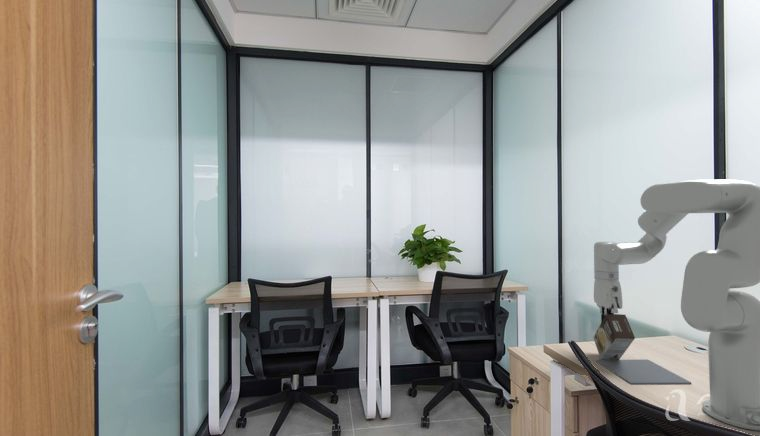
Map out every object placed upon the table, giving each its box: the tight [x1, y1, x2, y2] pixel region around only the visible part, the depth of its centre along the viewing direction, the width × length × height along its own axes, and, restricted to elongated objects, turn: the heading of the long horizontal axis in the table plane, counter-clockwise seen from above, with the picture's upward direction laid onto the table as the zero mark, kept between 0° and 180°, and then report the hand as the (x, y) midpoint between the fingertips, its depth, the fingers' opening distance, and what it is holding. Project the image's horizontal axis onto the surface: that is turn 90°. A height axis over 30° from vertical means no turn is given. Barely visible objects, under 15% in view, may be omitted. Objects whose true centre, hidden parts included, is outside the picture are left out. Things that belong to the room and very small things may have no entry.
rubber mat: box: [595, 359, 692, 385], centre depth 115 cm, size 18×18×1 cm
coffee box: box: [592, 313, 636, 360], centre depth 123 cm, size 9×6×16 cm
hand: (607, 325), depth 127 cm, fingers closed
